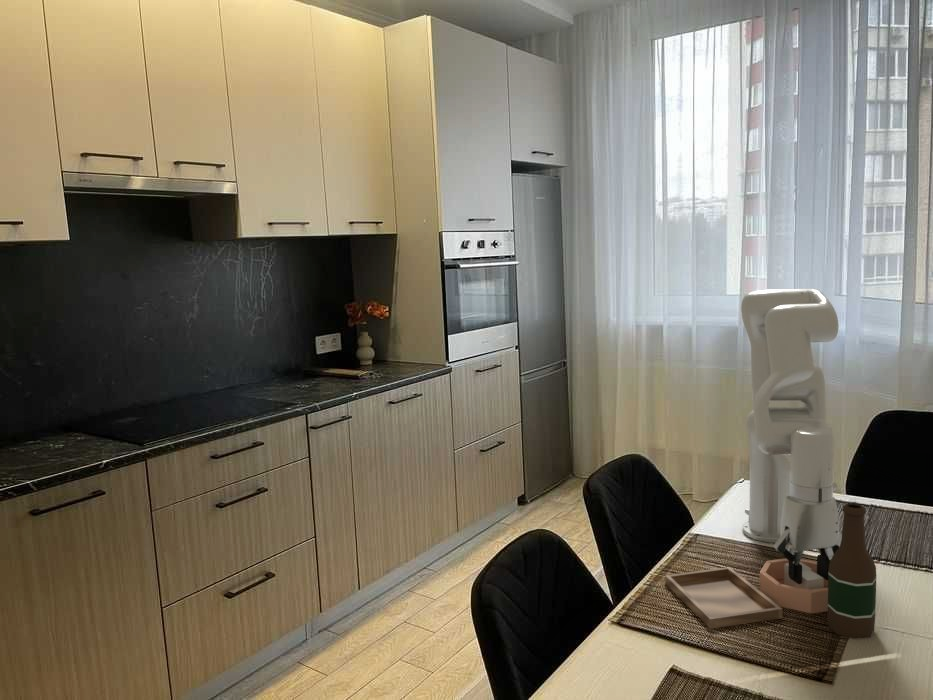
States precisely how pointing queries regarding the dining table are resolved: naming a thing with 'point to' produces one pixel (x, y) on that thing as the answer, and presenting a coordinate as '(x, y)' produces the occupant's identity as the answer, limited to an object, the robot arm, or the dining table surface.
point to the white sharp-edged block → (810, 581)
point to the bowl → (792, 588)
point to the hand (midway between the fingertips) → (809, 578)
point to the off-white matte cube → (786, 576)
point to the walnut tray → (722, 597)
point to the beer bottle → (852, 580)
